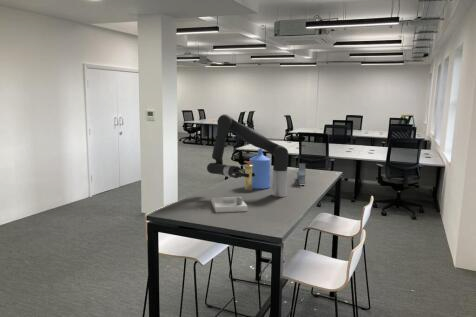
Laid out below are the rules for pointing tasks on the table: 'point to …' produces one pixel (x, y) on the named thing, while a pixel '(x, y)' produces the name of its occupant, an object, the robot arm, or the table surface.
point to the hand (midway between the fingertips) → (251, 175)
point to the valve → (249, 171)
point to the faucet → (301, 173)
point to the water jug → (260, 171)
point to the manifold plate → (229, 204)
